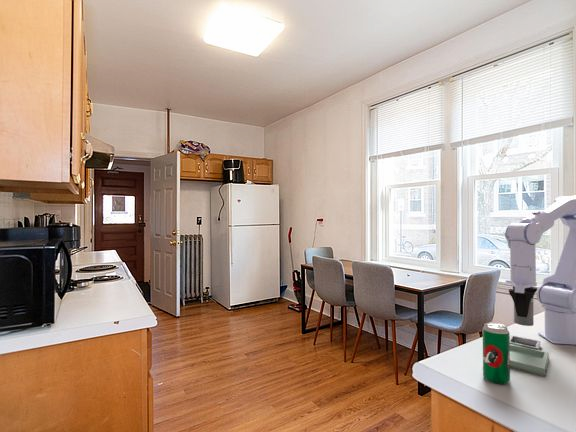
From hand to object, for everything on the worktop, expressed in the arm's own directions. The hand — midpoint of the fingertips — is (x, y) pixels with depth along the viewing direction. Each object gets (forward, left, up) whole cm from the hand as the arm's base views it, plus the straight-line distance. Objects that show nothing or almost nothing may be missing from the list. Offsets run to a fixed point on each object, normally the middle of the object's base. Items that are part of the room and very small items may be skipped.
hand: (523, 314), depth 90 cm
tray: (+6, +10, -9) cm, 15 cm away
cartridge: (0, 0, -2) cm, 2 cm away
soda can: (+15, +22, -9) cm, 28 cm away
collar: (0, 0, -9) cm, 9 cm away
